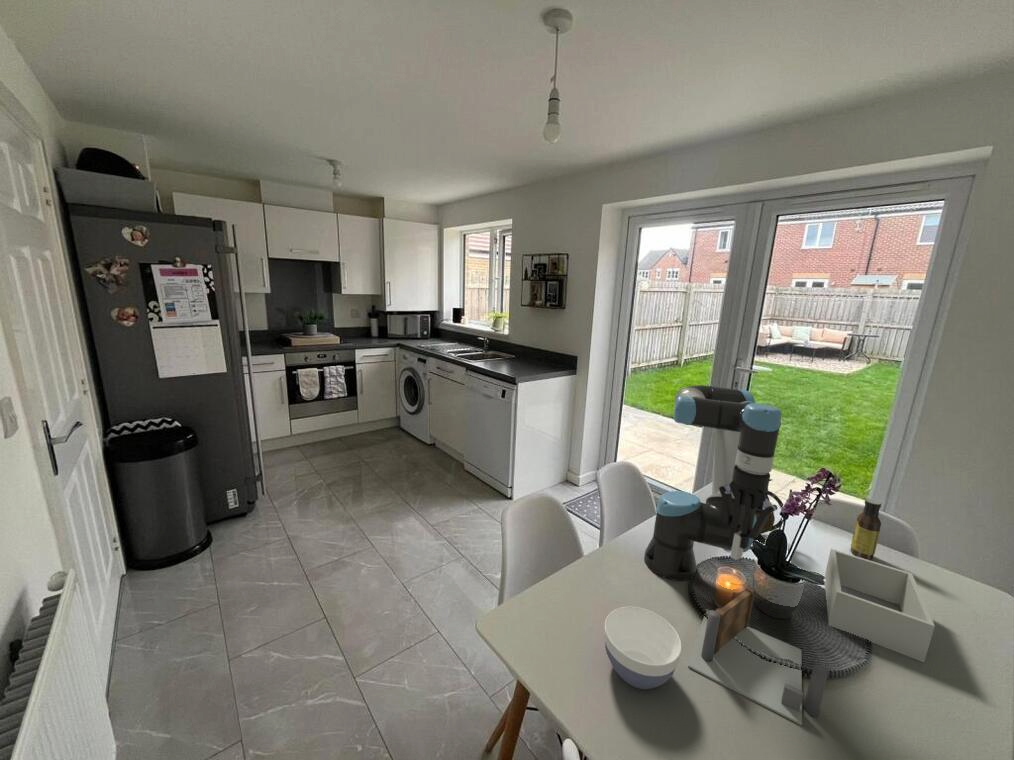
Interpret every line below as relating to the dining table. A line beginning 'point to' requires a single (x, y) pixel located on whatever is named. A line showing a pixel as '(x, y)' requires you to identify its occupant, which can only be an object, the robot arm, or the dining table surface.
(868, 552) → the sauce bottle
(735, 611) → the gate
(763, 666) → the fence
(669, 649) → the bowl
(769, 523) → the teapot
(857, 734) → the dining table surface
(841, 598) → the box
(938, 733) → the dining table surface
